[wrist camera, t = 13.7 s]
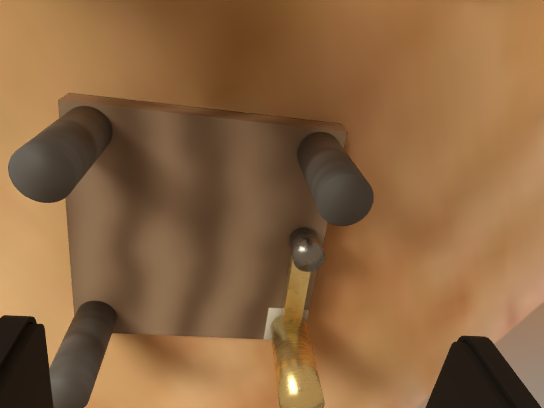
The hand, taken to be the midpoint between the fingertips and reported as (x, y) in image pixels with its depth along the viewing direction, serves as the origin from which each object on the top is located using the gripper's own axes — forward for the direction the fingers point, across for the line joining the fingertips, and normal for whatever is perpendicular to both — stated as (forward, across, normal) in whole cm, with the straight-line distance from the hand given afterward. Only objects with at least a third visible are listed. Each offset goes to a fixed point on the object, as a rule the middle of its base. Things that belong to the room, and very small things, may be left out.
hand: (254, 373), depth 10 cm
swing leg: (+25, -7, +16) cm, 31 cm away
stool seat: (+28, +2, +12) cm, 31 cm away
